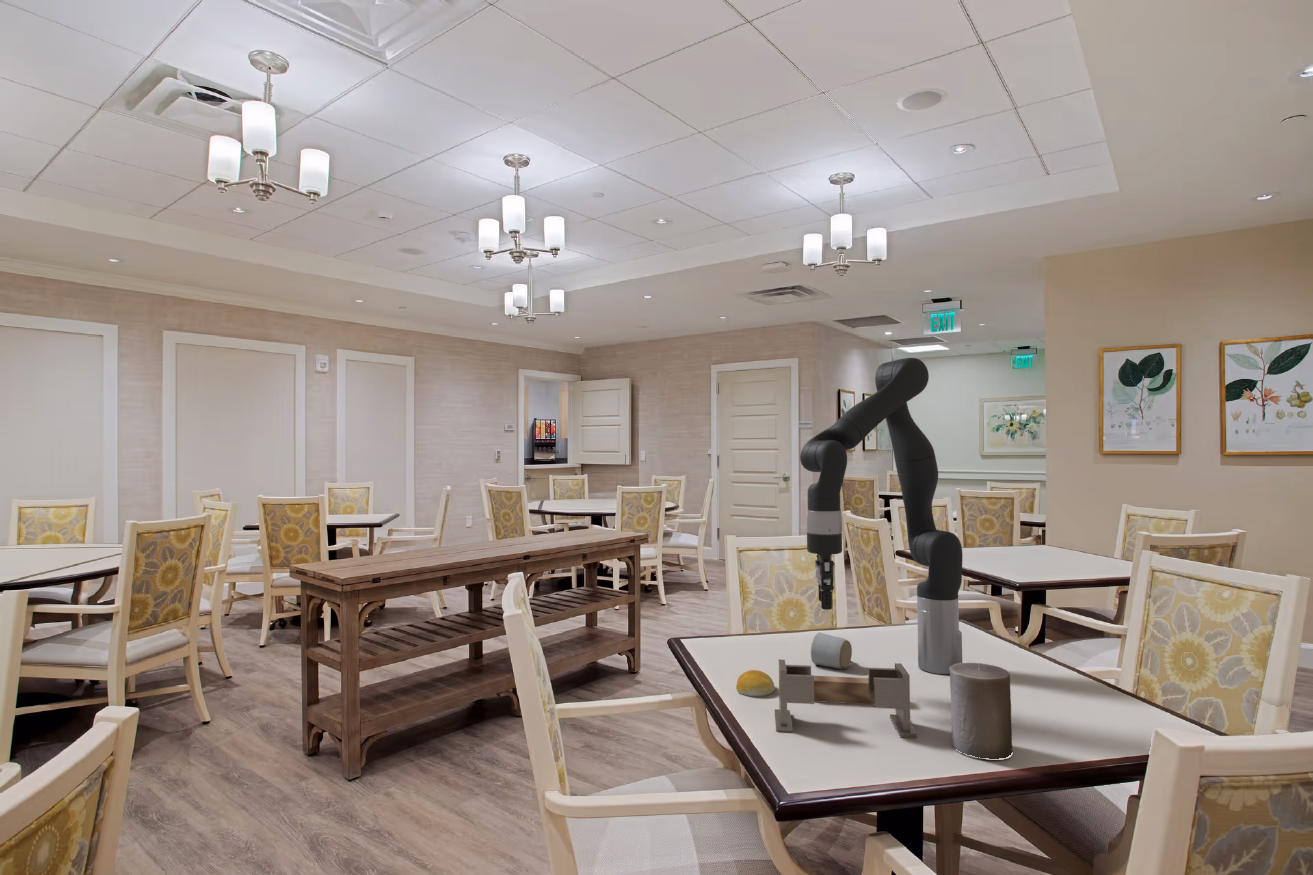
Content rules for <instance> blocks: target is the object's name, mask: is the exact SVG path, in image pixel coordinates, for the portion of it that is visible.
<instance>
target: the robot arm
mask: <svg viewBox="0 0 1313 875" xmlns="http://www.w3.org/2000/svg"><path fill="white" fill-rule="evenodd" d="M929 377H930V375H929V370H928V367H927V366H926V364H925V363H924V362H923V361H922V360H921V359H919V358H915V357H906V358H900V359H895V360H891V361H887V362H884V363H881V364H879V366H878V367H877V368H876V371H875V377H874V382H875V389H876V392H875V393H872V395H870V396H868V397H866V398H864V399H863V400H861V401H859V402H857V403H856V404H855V405H853V406H852V407H851V408H849V409H848V410H846V411H845V413H844V414H842V415H841V416H840V418H838V419H837V420H836V422H834V423H833V425H831V426H830V427H828V428H826V429H825V430H824V429H823V431H821V432H819V433H817V434H816V435H815V436H813V437H812V438H810V439H809V440H807V442H806V443H805V444H804V446H803V447H802V449H801V451H800V454H799V460H800V464H801V466H802V467H803V468H804V470H807V471H808V472H812V473H820V475H819V477H818V481H817V482H815V483H812V484H810V485H808V488H807V516H806V550H807V552H808V553H810V554H814V555H816V559H815V560H814V565H815V567H814V568H815V577H816V578H817V579H816V582H817V584H818V601H819V602H820V603H821V605H820V607H821V609H822V610H826V611H827V610H829V611H830V610H832V609H833V591H834V589H835V586H834V582H835V569H836V568H835V567H836V566H835V564H836V563H835V562H834V560H832V555H839V554H841V553H842V552H843V529H842V526H843V523H842V522H843V521H842V515H841V514H842V513H841V490H842V487H843V483H844V478H845V474H846V471H847V470H846V469H847V465H848V454H847V451H849V450H852V449H855V447H857V446H858V445H859V444H860V443H861V442H862V441H863V440H864V439H865V438H866V437H867V436H868V435H869V434H870V433H871V432H872V431H873V430H874V429H875V428H876V427H877V426H878V425H879V424H880V423H882V422H883V421H884V420H885V422H886V425H887V428H888V429H887V430H888V433H889V437H890V442H891V446H892V452H893V457H894V462H895V468H896V472H897V477H898V480H899V485H900V490H901V495H902V501H903V507H904V513H905V519H906V520H905V521H906V531H907V533H906V534H907V541H908V547H909V552H910V555H911V557H912V559H913V560H914V561H915V562H916V563H917V564H919V565H920V566H923V567H928V571H927V572H928V575H927V579H926V580H925V581H924V580H923V581H921V582H918V584H917V586H916V599H917V600H916V604H917V605H916V607H917V609H916V610H917V616H916V617H917V662H918V663H917V664H918V665H917V666H918V668H919V669H920V670H922V671H924V672H929V673H931V674H939V675H940V674H941V675H950V669H949V668H950V666H952V665H954V664H958V663H963V633H962V631H961V630H960V625H959V624H960V623H959V622H960V621H959V619H960V616H959V614H960V613H959V612H960V611H959V592H960V589H961V586H962V581H963V548H962V547H963V546H962V543H961V541H960V539H959V537H958V536H957V535H956V534H955V533H953V532H952V531H946V530H941V529H940V530H939V529H937V528H936V524H935V519H934V514H933V502H934V500H933V499H934V497H935V496H934V495H935V492H936V489H937V485H938V481H939V468H938V463H937V457H936V453H935V449H934V447H933V445H932V443H931V441H930V440H929V439H928V438H927V436H926V435H925V433H924V432H923V431H922V430H921V429H920V427H919V426H918V424H917V423H916V422H915V421H914V419H913V417H912V415H911V411H910V409H909V406H908V402H909V401H911V400H912V399H914V398H915V397H917V396H918V395H920V394H921V393H922V392H924V390H925V389H926V387H927V386H928V384H929Z"/></svg>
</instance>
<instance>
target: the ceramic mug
mask: <svg viewBox="0 0 1313 875" xmlns="http://www.w3.org/2000/svg"><path fill="white" fill-rule="evenodd" d="M852 656H853V648H852V644H851V642H850V641H849V640H848V639H846V638H843V637H839V636H835V635H831V634H827V633H823V632H816V633H815V635H814V636H813V638H812V642H811V646H810V658H811V662H812V664H813V665H815V666H816V665H817V666H822V667H825V668H826V667H827V668H832V669H838V670H846V669H847V668H848V667H849V665H850V663H851V661H852Z"/></svg>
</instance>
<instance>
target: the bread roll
mask: <svg viewBox="0 0 1313 875" xmlns="http://www.w3.org/2000/svg"><path fill="white" fill-rule="evenodd" d="M735 686H736V687H735V689H736V692H737V693H738V694H741V695H744V696H747V697H754V698H756V697H757V698H758V697H765V696H770V695H771V694H773V692H774V691H775V683H774V681H773V679H772V677H771V676H770V675H769V674H767V673H766V672H764V671H761V670H758V669H751V670H747V671H745V672H743V673H742V674H741V675H739V676H738V678H737V680H736V685H735Z"/></svg>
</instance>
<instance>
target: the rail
mask: <svg viewBox="0 0 1313 875" xmlns="http://www.w3.org/2000/svg"><path fill="white" fill-rule="evenodd" d="M813 676H814V702H819V701H827V702H826V703H839V702H845V703H844V704H858V705H859V704H861V705H874V703H873V701H872V699H871V697H870V695H869V686H868V677H854V676H853V677H851V676H849V677H848V676H832V675H831V676H829V675H813Z"/></svg>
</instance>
